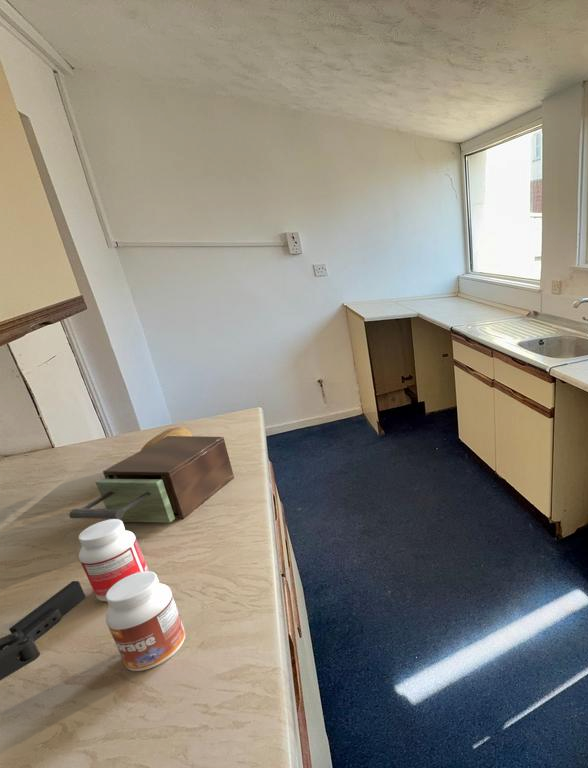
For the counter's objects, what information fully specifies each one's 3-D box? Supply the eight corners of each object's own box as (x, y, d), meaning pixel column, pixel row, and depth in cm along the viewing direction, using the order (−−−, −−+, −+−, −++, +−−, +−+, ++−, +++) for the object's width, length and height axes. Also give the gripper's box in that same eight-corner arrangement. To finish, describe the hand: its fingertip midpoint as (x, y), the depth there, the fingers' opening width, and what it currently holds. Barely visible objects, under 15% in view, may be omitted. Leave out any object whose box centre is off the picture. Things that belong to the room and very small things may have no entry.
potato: (208, 446, 105) (200, 419, 102) (185, 474, 92) (176, 443, 90) (163, 452, 102) (154, 424, 100) (134, 481, 90) (122, 450, 87)
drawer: (137, 548, 69) (121, 506, 66) (73, 547, 69) (54, 505, 66) (220, 482, 88) (210, 447, 85) (170, 481, 88) (158, 446, 85)
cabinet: (183, 519, 77) (168, 472, 74) (120, 518, 78) (102, 471, 74) (234, 477, 91) (223, 436, 88) (180, 477, 91) (167, 435, 88)
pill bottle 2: (112, 675, 49) (80, 608, 46) (149, 630, 55) (124, 567, 51) (165, 671, 50) (138, 604, 46) (197, 626, 56) (175, 564, 52)
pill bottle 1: (117, 573, 65) (94, 517, 61) (159, 569, 65) (139, 513, 62) (85, 605, 59) (57, 546, 55) (132, 600, 60) (107, 541, 56)
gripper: (-430, 844, 31) (-57, 609, 51) (-120, 852, 31) (133, 612, 51) (-511, 786, 28) (-86, 563, 49) (-175, 793, 28) (114, 566, 48)
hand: (26, 588), depth 50 cm, fingers open, 13 cm apart
